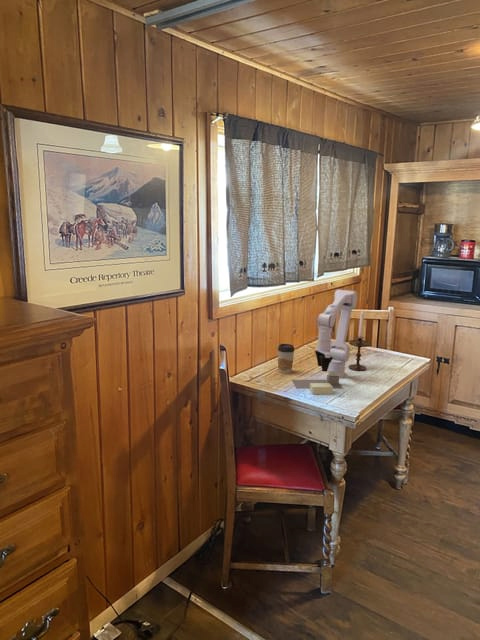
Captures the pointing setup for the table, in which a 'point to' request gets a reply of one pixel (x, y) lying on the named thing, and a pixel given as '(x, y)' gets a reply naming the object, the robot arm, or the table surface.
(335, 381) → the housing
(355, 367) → the candlestick
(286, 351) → the coffee cup
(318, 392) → the cream rectangular block
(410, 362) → the table surface
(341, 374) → the bar
